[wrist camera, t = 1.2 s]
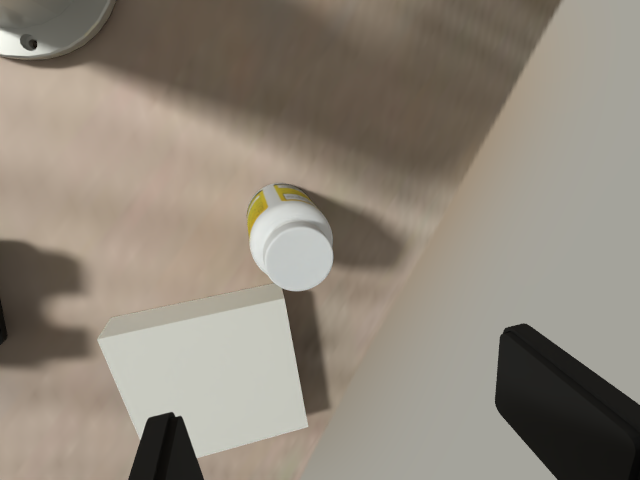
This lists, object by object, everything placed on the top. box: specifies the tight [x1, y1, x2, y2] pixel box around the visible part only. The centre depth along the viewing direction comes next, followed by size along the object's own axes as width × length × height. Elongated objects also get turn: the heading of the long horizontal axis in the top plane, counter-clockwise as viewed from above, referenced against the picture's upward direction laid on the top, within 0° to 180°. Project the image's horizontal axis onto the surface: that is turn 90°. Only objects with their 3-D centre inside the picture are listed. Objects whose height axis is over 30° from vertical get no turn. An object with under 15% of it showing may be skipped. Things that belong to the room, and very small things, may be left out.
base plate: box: [97, 283, 308, 458], centre depth 31 cm, size 14×14×3 cm
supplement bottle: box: [247, 183, 333, 291], centre depth 24 cm, size 5×5×10 cm
